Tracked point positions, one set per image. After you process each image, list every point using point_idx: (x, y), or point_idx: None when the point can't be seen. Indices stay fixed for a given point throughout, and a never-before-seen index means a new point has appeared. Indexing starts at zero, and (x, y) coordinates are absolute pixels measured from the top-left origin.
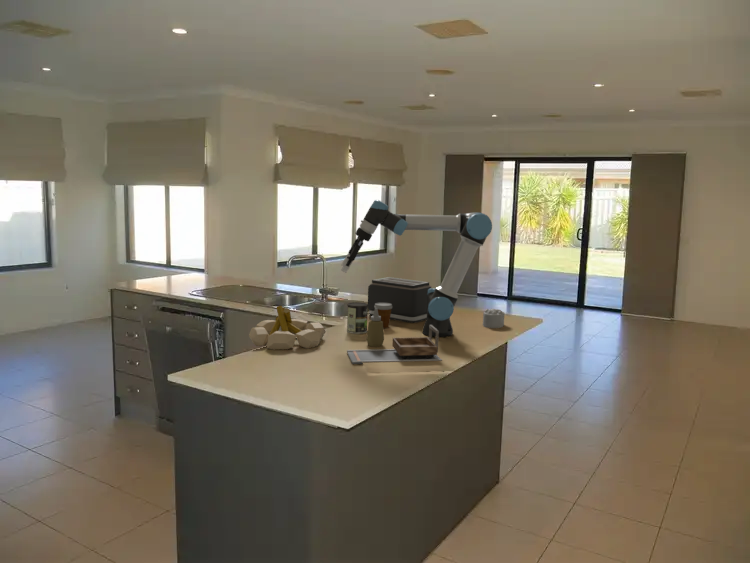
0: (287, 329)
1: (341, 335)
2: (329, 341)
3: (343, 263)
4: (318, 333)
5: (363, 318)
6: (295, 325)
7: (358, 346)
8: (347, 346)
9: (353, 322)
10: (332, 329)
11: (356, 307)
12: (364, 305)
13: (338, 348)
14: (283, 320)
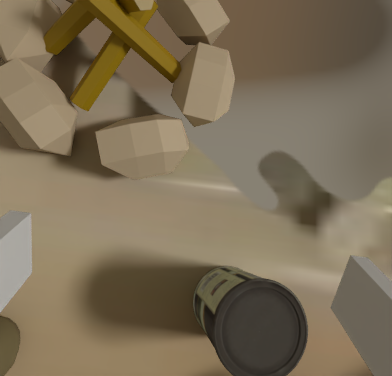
0: (60, 33)
1: (177, 241)
2: (100, 192)
3: (363, 285)
4: (27, 138)
5: (208, 337)
6: (181, 81)
7: None
8: None
9: (205, 291)
10: (260, 221)
11: (213, 317)
12: (231, 363)
13: (3, 210)
14: (75, 3)
